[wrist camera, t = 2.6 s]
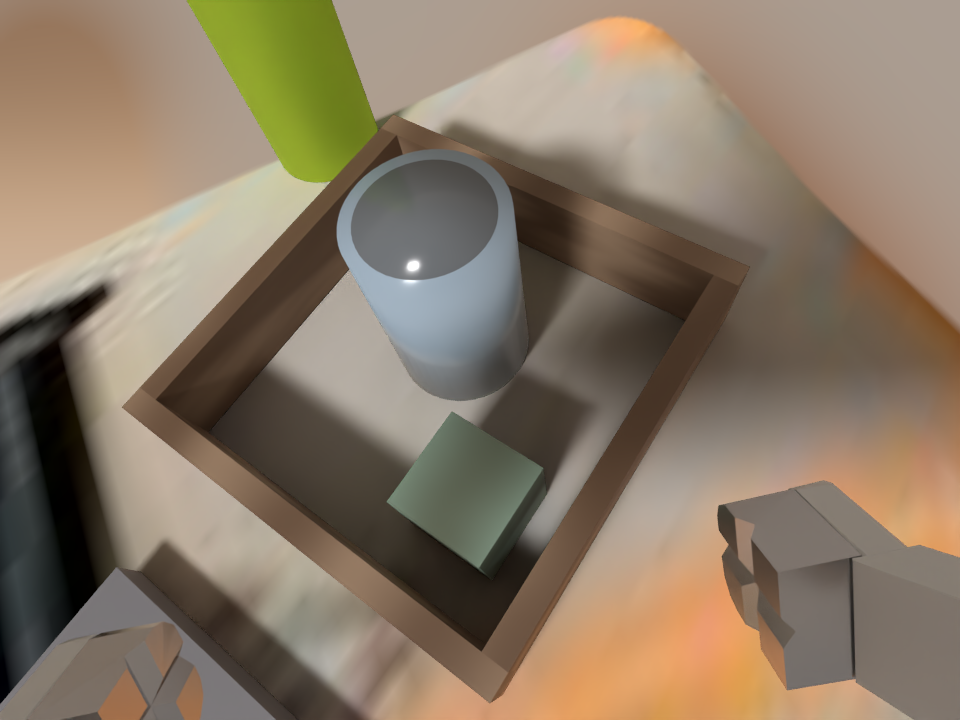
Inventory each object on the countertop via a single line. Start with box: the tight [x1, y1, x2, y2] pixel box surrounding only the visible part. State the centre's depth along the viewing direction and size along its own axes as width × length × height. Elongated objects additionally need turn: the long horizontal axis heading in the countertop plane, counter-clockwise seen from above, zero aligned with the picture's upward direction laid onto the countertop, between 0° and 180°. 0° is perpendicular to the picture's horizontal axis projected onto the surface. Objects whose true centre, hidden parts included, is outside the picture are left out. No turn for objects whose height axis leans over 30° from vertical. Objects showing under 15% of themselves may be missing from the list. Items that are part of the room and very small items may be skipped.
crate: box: [122, 115, 750, 703], centre depth 26 cm, size 18×18×4 cm
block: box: [387, 412, 547, 580], centre depth 23 cm, size 4×4×4 cm
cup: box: [337, 149, 529, 401], centre depth 24 cm, size 6×6×9 cm
